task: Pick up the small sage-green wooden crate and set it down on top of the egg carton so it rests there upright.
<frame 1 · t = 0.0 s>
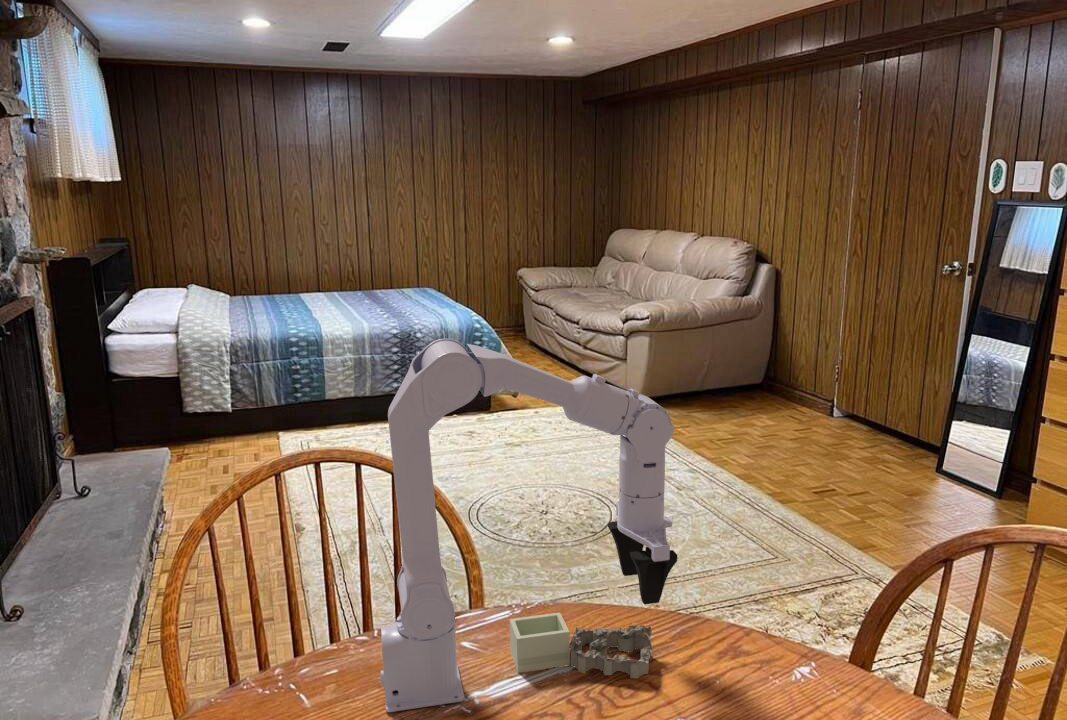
hand: (640, 587, 104), 10 cm above the table, tool pointing down, fingers open, 7 cm apart
crate: (539, 659, 106), on the table
egg carton: (610, 664, 105), on the table
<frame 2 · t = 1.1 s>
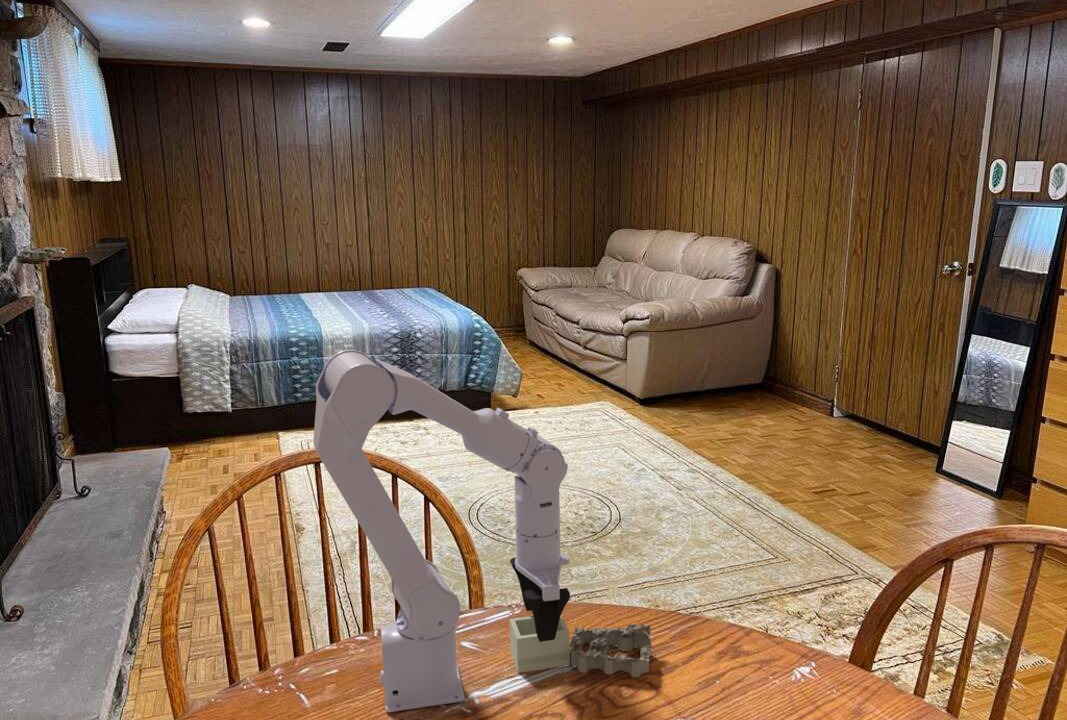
hand: (539, 623, 105), 5 cm above the table, tool pointing down, fingers open, 7 cm apart
nothing on the table moved.
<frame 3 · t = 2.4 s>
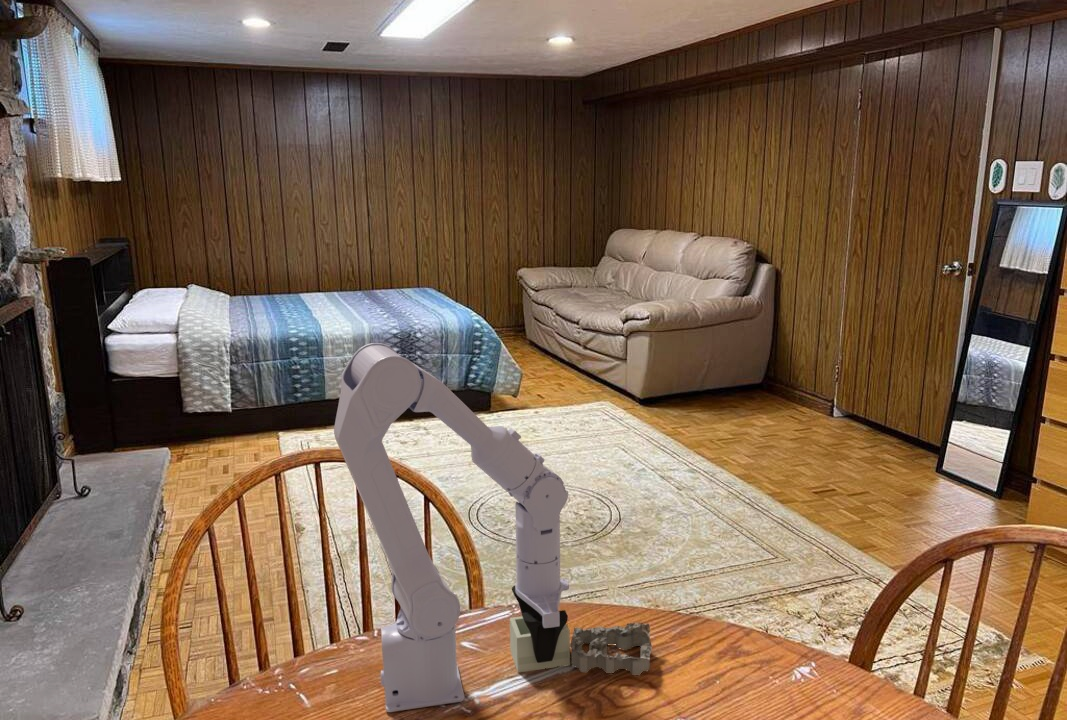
hand: (539, 648, 106), 1 cm above the table, tool pointing down, fingers closed on crate, 5 cm apart
crate: (539, 658, 106), on the table, touching gripper
everything else where it was.
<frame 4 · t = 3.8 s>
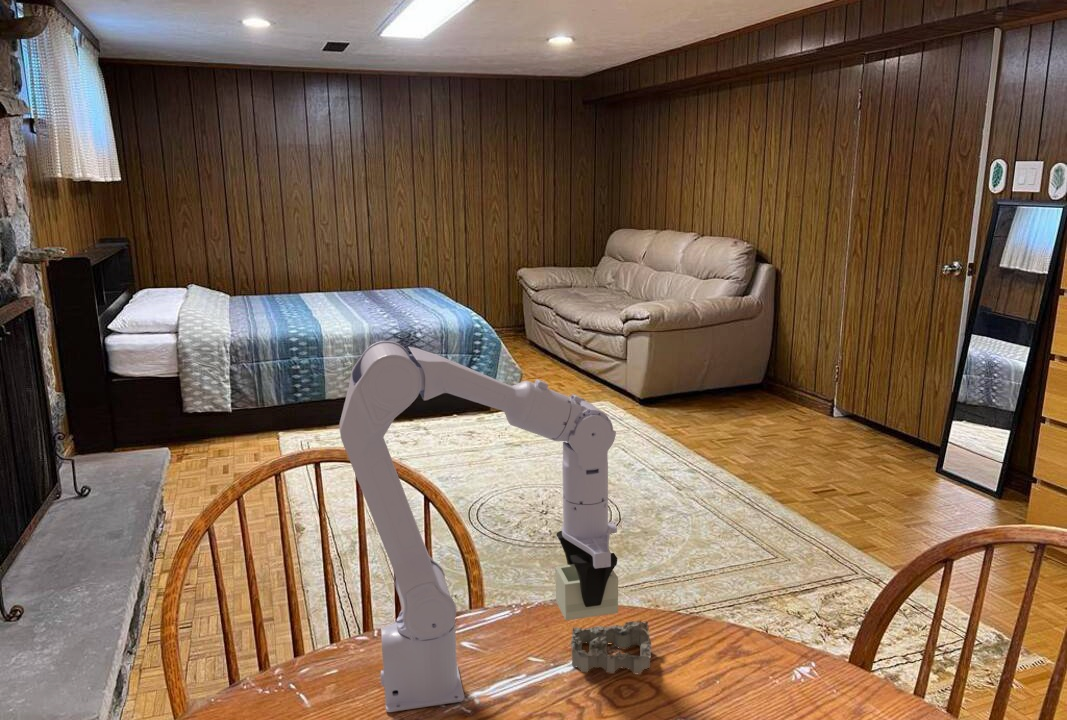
hand: (586, 594, 103), 10 cm above the table, tool pointing down, fingers closed on crate, 5 cm apart
crate: (586, 606, 104), point 8 cm above the table, touching gripper
everything else where it was.
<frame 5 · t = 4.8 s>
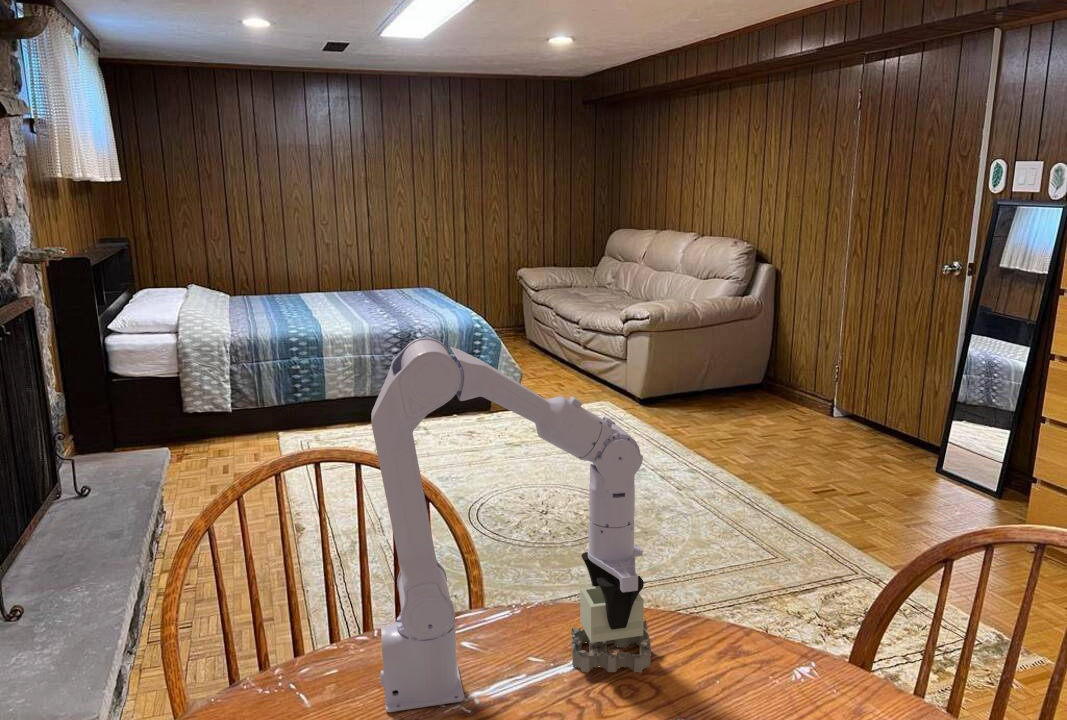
hand: (611, 616, 104), 7 cm above the table, tool pointing down, fingers closed on crate, 5 cm apart
crate: (611, 628, 104), point 5 cm above the table, touching gripper
everything else where it was.
when the fingers open (7 cm above the table, at t = 5.4 s): crate drops 2 cm, resting on egg carton.
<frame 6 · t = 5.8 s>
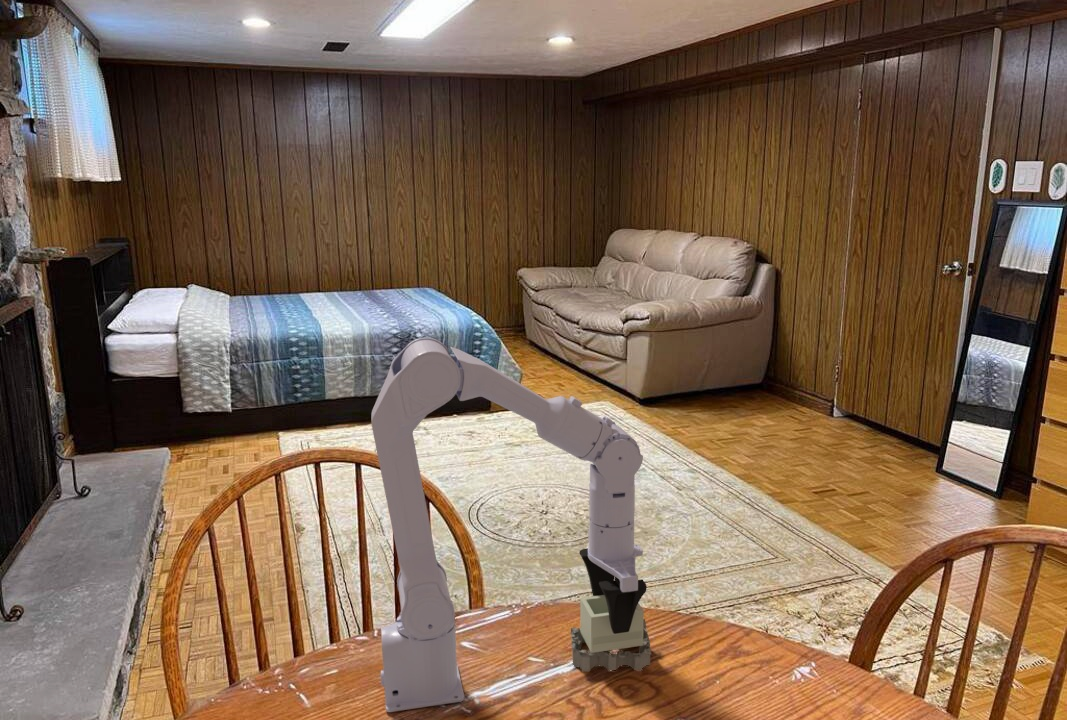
hand: (611, 616, 104), 7 cm above the table, tool pointing down, fingers open, 7 cm apart
crate: (611, 638, 104), point 3 cm above the table, touching egg carton
egg carton: (610, 660, 106), on the table, touching crate
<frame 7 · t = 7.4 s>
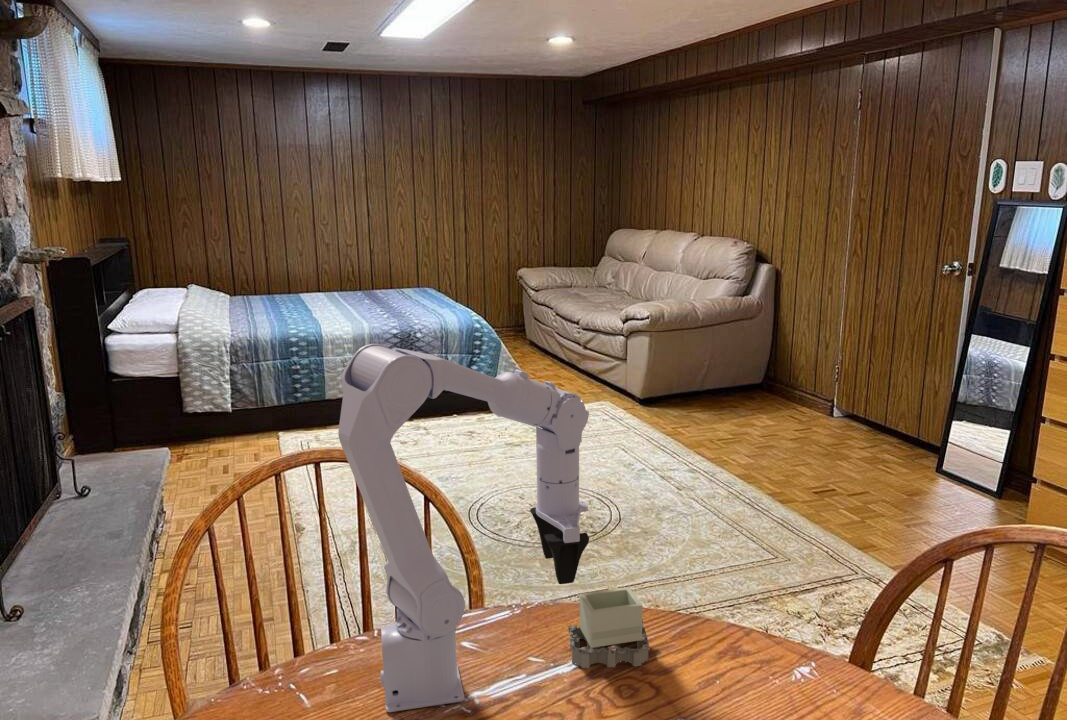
hand: (558, 569, 109), 10 cm above the table, tool pointing down, fingers open, 7 cm apart
crate: (610, 633, 106), point 3 cm above the table, touching egg carton
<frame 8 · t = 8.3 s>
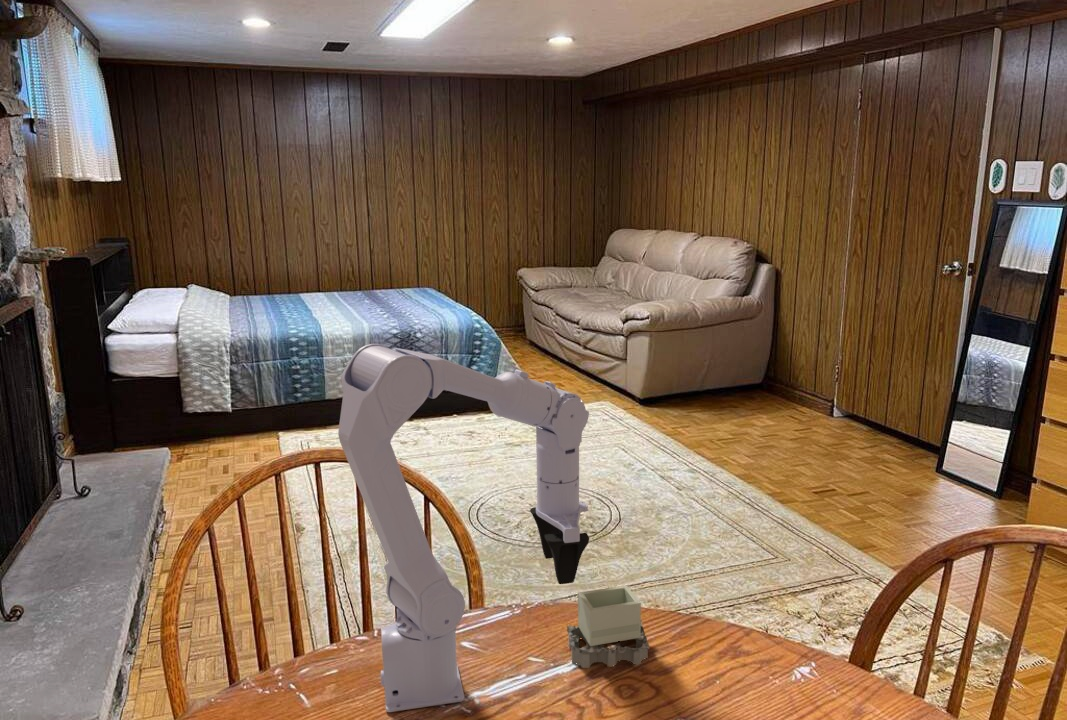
hand: (558, 569, 109), 10 cm above the table, tool pointing down, fingers open, 7 cm apart
at the end: crate inside the target area on the egg carton (0.2 cm from its centre), point 3.8 cm above the egg carton's base; crate tilted 0°; the gripper is holding nothing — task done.
